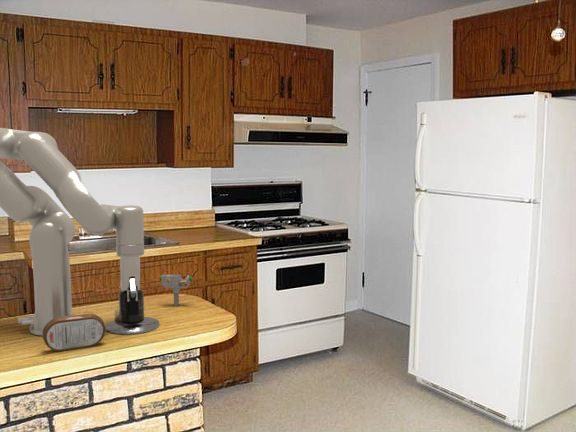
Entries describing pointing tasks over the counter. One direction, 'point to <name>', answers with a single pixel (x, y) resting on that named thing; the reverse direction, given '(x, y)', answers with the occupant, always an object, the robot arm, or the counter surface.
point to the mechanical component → (175, 284)
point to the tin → (73, 332)
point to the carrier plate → (131, 326)
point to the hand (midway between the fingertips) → (131, 310)
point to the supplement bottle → (123, 312)
